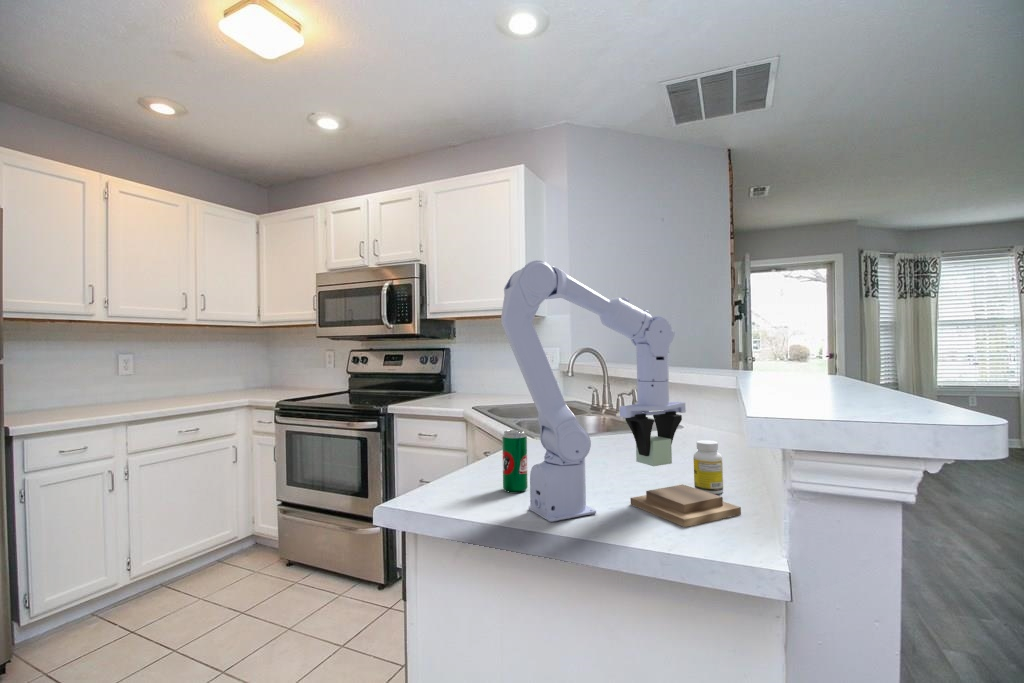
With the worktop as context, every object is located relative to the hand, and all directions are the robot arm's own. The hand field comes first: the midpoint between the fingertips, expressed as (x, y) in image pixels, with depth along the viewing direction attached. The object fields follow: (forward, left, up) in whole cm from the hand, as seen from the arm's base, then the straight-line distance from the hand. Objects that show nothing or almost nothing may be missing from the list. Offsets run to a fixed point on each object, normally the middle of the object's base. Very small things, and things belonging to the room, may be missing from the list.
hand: (654, 453), depth 88 cm
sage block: (0, 0, -2) cm, 2 cm away
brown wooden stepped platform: (+1, -5, -9) cm, 11 cm away
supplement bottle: (+14, +1, -9) cm, 17 cm away
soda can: (-20, +20, -9) cm, 29 cm away
